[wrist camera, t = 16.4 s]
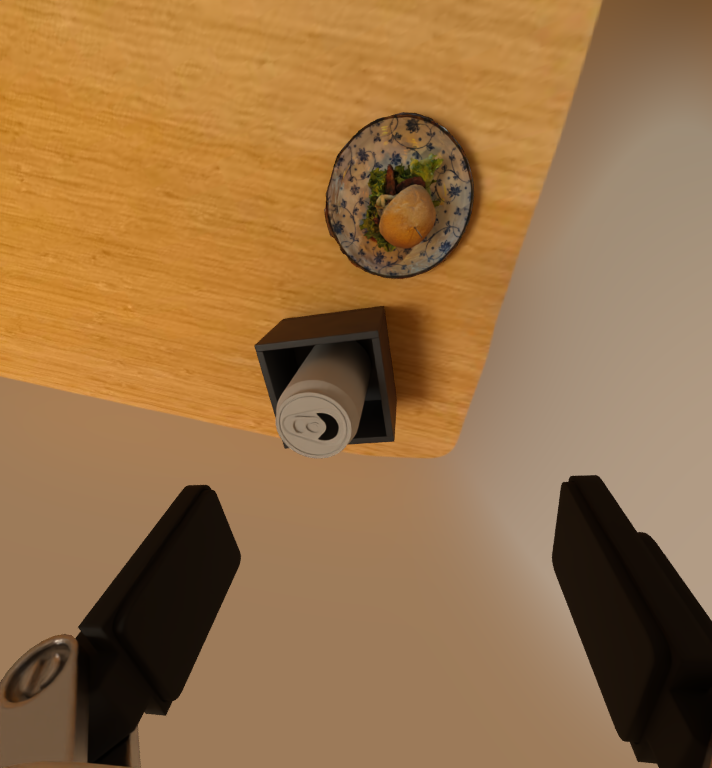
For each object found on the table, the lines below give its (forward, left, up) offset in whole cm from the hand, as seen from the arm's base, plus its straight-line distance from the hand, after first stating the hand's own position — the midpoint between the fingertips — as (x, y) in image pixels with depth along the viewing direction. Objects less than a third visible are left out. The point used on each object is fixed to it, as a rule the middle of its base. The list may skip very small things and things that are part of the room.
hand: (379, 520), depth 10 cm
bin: (+6, -7, -27) cm, 29 cm away
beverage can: (+6, -7, -27) cm, 28 cm away
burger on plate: (-8, +1, -27) cm, 28 cm away
